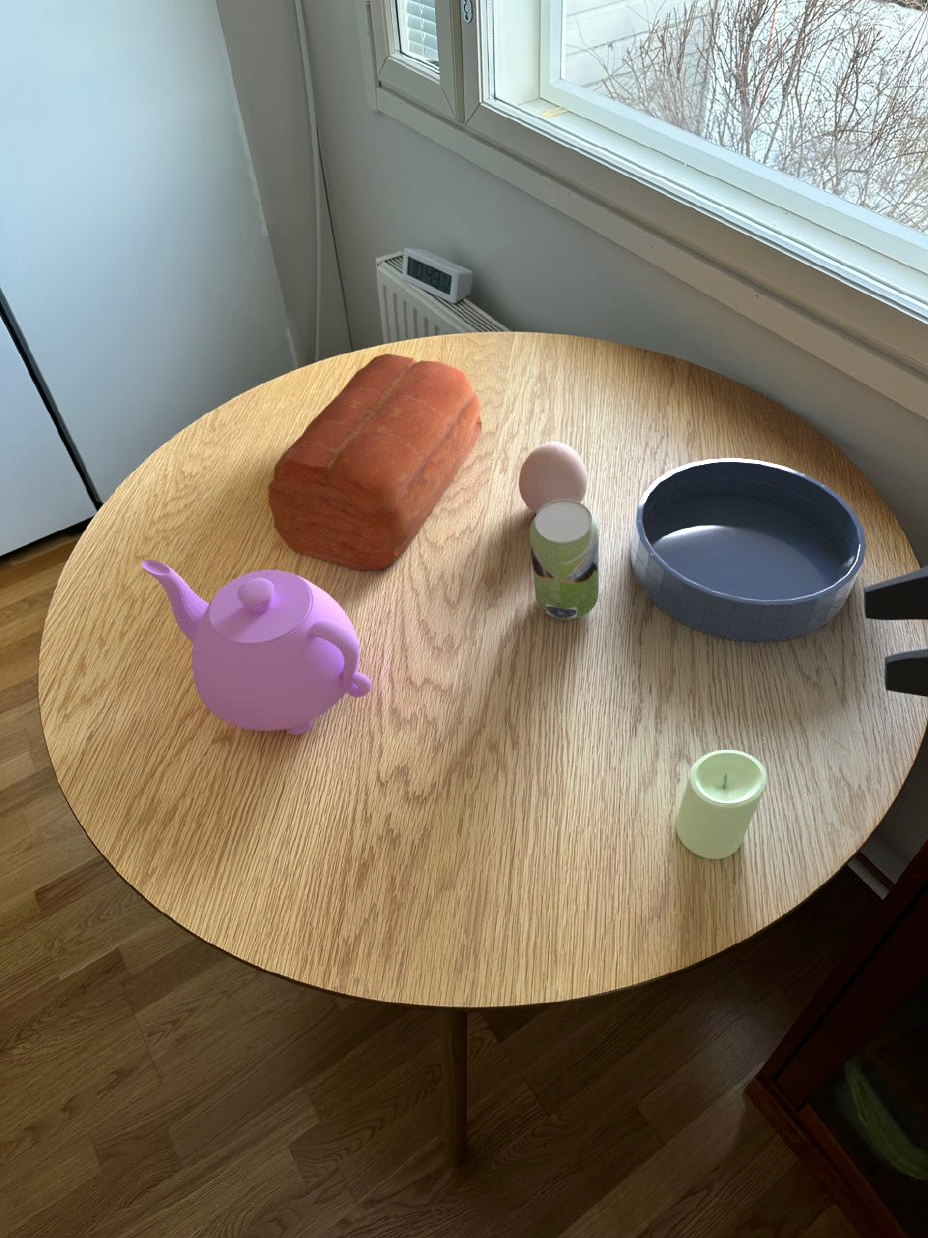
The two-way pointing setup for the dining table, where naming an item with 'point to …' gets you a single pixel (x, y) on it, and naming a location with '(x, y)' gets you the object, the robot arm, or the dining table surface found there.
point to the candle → (720, 802)
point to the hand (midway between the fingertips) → (874, 636)
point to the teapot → (267, 648)
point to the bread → (375, 462)
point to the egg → (552, 476)
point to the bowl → (746, 549)
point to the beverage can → (565, 559)
